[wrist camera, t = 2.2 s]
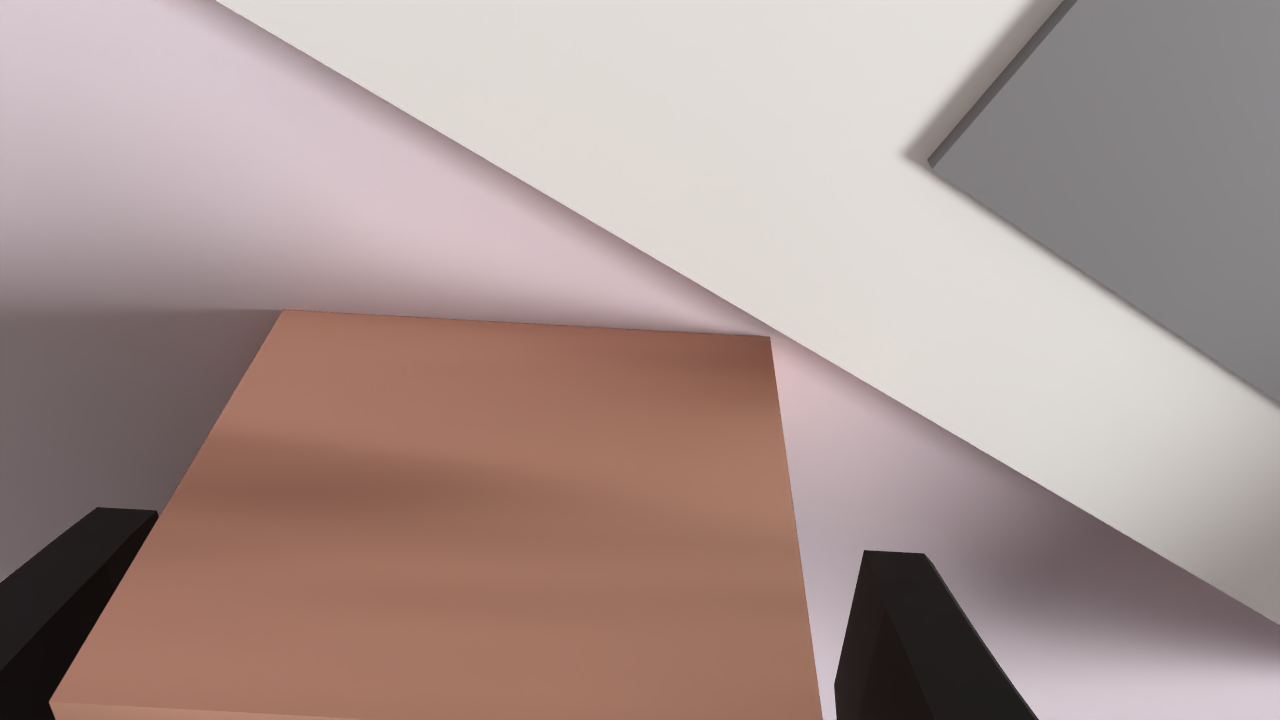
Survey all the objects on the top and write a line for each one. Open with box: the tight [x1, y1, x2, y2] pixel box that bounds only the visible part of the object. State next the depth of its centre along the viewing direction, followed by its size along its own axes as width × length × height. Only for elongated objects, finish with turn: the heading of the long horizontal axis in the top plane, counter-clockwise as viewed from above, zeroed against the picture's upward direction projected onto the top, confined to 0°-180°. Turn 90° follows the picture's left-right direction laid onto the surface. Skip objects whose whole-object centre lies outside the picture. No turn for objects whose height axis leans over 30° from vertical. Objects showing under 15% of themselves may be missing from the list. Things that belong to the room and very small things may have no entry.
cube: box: [49, 310, 823, 720], centre depth 10 cm, size 5×5×5 cm
